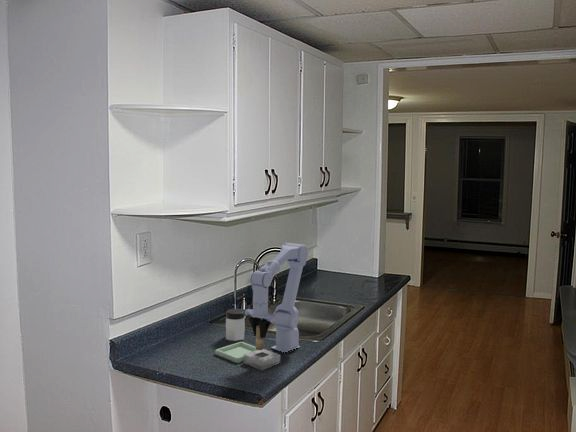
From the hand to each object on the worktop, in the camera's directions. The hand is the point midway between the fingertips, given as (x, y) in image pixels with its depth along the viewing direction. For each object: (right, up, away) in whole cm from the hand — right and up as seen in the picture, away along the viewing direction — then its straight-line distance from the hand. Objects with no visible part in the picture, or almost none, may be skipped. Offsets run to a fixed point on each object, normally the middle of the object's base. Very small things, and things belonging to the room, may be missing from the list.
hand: (259, 336), depth 216 cm
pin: (0, -5, +1) cm, 5 cm away
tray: (-9, -9, +9) cm, 16 cm away
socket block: (+1, -10, 0) cm, 11 cm away
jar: (-12, -7, +29) cm, 32 cm away
